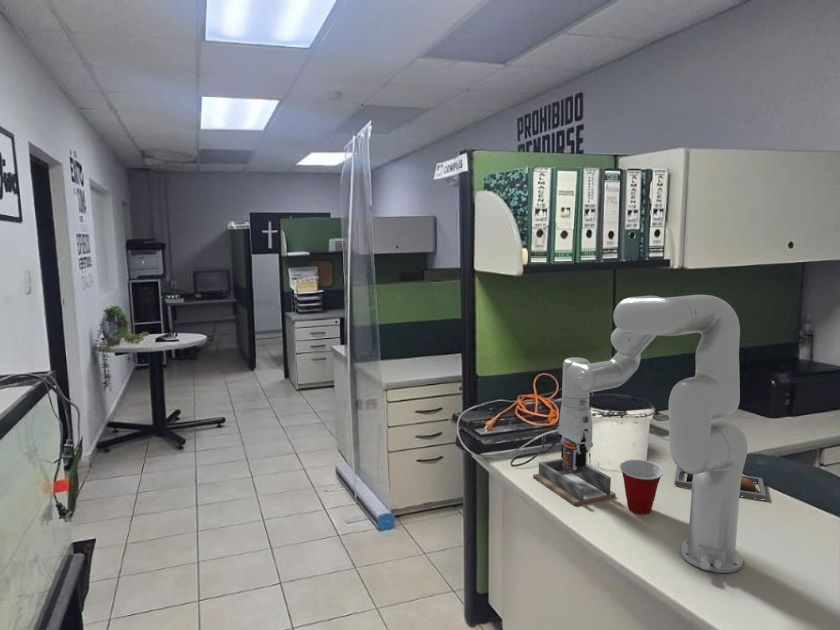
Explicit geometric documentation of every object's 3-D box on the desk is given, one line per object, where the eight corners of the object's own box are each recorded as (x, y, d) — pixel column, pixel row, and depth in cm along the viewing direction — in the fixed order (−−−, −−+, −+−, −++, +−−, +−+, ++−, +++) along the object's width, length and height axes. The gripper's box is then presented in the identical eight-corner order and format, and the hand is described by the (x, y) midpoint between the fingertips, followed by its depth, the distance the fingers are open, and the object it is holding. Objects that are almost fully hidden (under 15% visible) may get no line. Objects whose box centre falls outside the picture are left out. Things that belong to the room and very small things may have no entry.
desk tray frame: (765, 500, 162) (765, 495, 162) (674, 485, 172) (674, 480, 172) (761, 483, 173) (762, 478, 173) (676, 469, 183) (676, 465, 183)
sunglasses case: (757, 485, 172) (758, 470, 168) (755, 504, 167) (755, 490, 164) (690, 472, 181) (689, 458, 178) (686, 490, 177) (685, 476, 173)
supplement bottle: (558, 467, 172) (559, 430, 171) (575, 464, 175) (576, 427, 173) (570, 475, 167) (571, 436, 165) (588, 472, 169) (589, 434, 167)
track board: (615, 496, 165) (616, 476, 164) (573, 505, 160) (574, 484, 159) (571, 470, 183) (572, 452, 182) (533, 477, 178) (533, 458, 177)
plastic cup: (619, 517, 153) (621, 473, 151) (616, 499, 163) (618, 457, 162) (664, 521, 150) (667, 477, 149) (658, 503, 161) (660, 461, 159)
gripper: (606, 408, 161) (603, 471, 164) (568, 392, 177) (566, 450, 180) (583, 411, 159) (581, 475, 161) (546, 395, 174) (545, 453, 177)
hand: (573, 461), depth 170 cm, fingers closed on supplement bottle, 6 cm apart
